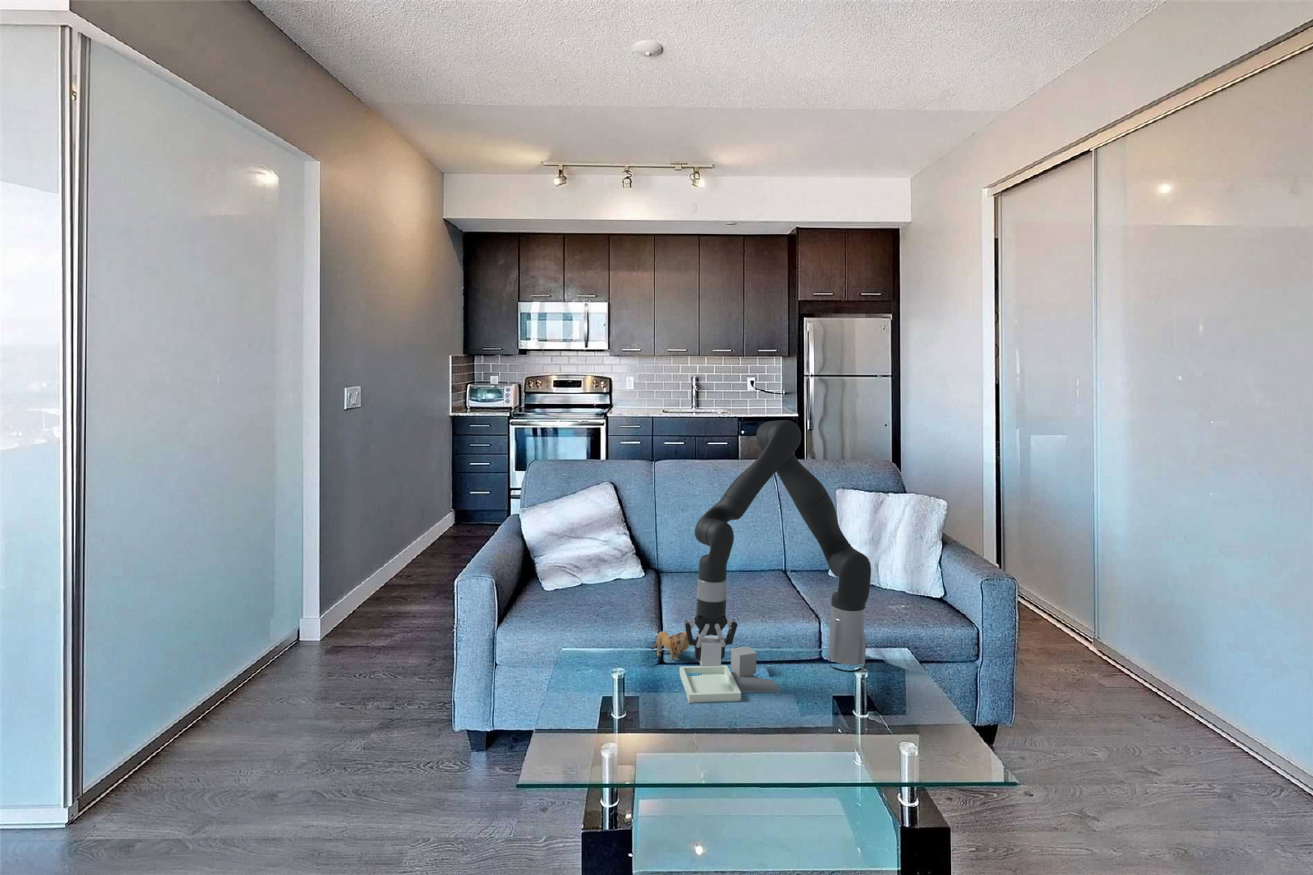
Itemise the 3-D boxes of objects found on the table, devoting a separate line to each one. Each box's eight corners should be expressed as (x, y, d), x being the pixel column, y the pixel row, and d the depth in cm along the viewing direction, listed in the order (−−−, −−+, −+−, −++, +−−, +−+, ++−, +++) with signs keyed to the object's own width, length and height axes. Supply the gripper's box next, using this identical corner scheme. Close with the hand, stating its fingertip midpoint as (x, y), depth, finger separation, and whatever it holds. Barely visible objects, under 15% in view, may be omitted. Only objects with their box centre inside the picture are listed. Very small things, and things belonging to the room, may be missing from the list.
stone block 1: (717, 658, 202) (717, 636, 201) (720, 666, 197) (721, 643, 197) (698, 658, 202) (698, 636, 201) (701, 666, 197) (702, 643, 196)
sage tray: (726, 673, 209) (727, 665, 209) (740, 702, 192) (741, 693, 192) (679, 675, 208) (679, 666, 207) (689, 704, 191) (689, 694, 191)
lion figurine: (694, 662, 216) (695, 631, 215) (682, 668, 212) (682, 636, 211) (656, 648, 226) (657, 618, 225) (643, 653, 222) (644, 622, 221)
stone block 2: (746, 667, 213) (747, 646, 212) (755, 674, 208) (756, 653, 208) (730, 669, 211) (731, 648, 210) (739, 676, 207) (740, 655, 206)
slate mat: (764, 667, 214) (765, 666, 214) (780, 693, 198) (780, 691, 198) (725, 668, 213) (726, 667, 213) (738, 694, 197) (738, 692, 197)
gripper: (736, 591, 202) (733, 653, 204) (681, 591, 200) (679, 654, 202) (742, 600, 194) (739, 665, 196) (686, 601, 193) (684, 666, 195)
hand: (709, 659), depth 199 cm, fingers closed on stone block 1, 5 cm apart
